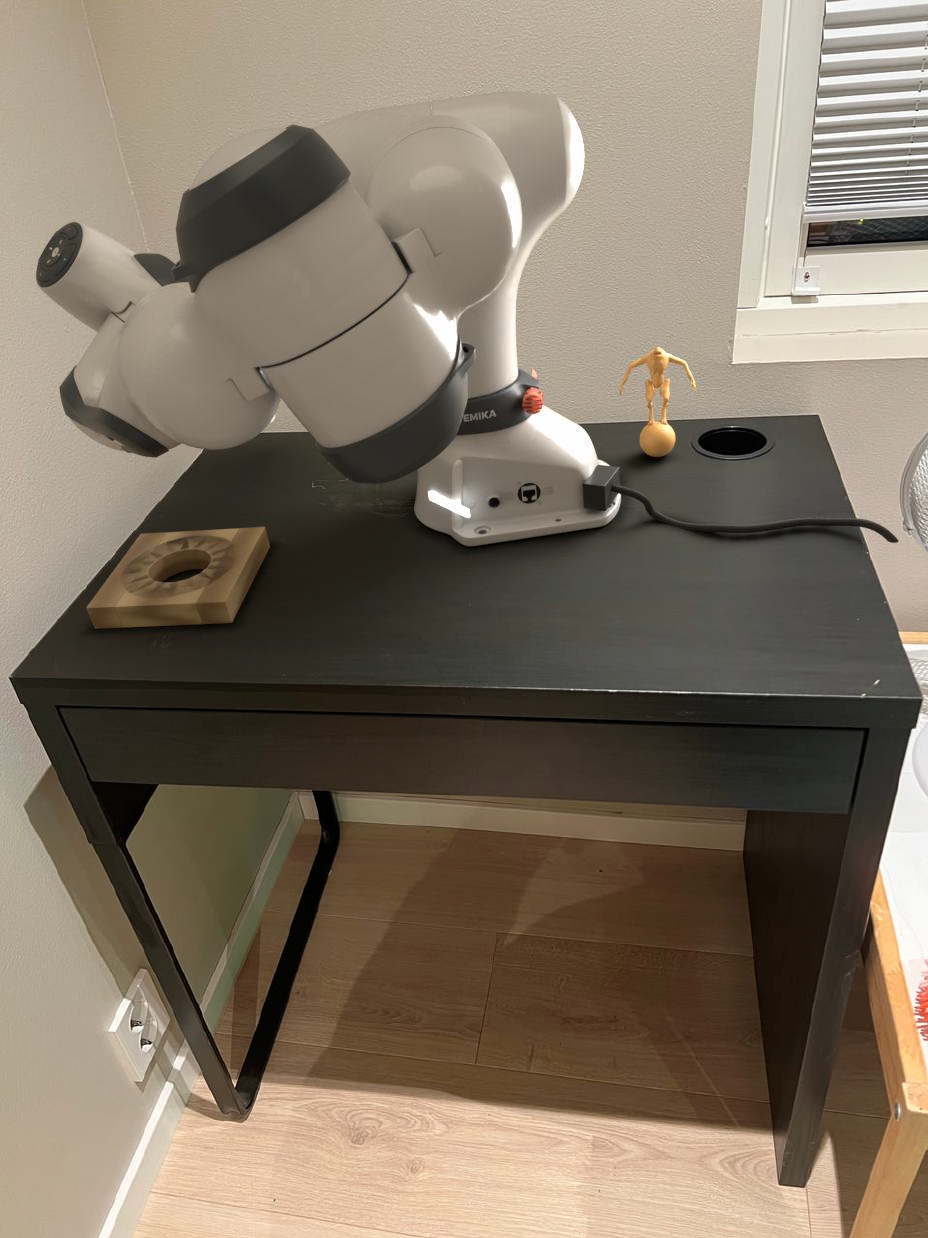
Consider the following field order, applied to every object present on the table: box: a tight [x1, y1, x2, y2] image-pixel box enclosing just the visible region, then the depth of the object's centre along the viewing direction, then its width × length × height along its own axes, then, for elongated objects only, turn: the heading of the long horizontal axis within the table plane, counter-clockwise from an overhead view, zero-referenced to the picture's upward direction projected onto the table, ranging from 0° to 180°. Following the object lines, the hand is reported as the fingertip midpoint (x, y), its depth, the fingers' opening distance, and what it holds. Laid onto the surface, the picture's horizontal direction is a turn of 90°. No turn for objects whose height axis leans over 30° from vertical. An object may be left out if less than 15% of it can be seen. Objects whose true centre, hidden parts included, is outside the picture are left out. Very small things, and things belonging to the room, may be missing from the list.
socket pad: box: [85, 526, 271, 630], centre depth 94 cm, size 14×14×2 cm
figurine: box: [619, 346, 697, 458], centre depth 103 cm, size 8×6×12 cm
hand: (249, 382), depth 113 cm, fingers closed on chess pawn, 3 cm apart
